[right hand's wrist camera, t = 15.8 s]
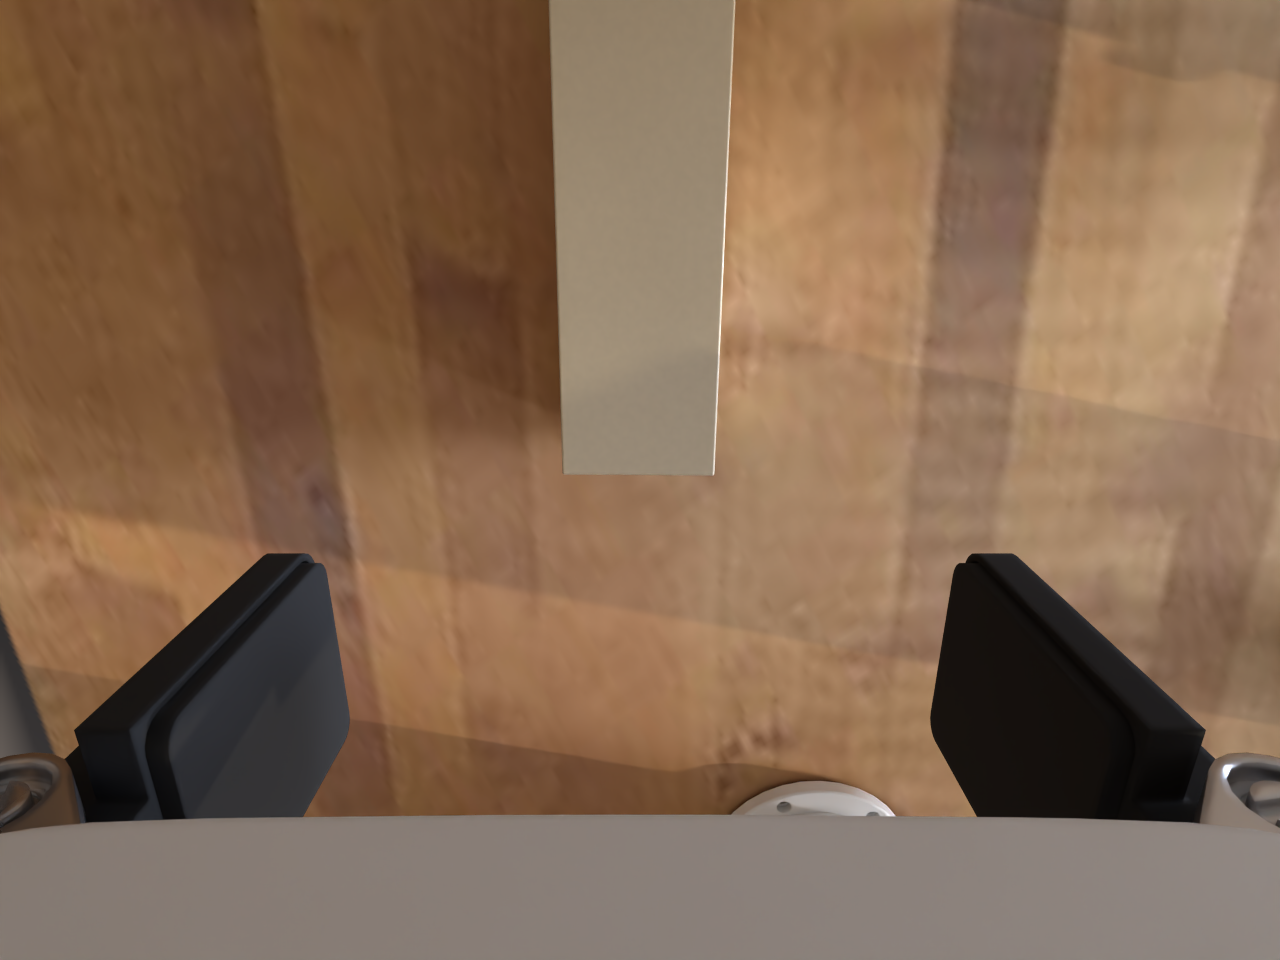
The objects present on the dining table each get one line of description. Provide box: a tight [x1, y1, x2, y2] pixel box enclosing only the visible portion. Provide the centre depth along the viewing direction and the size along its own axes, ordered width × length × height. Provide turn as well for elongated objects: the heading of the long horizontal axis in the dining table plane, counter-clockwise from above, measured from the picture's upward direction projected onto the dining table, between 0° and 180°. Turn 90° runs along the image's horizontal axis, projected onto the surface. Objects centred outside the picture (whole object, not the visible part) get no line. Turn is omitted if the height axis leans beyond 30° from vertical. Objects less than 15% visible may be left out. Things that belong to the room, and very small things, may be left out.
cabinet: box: [549, 0, 735, 475], centre depth 31 cm, size 21×6×8 cm, turn 179°
